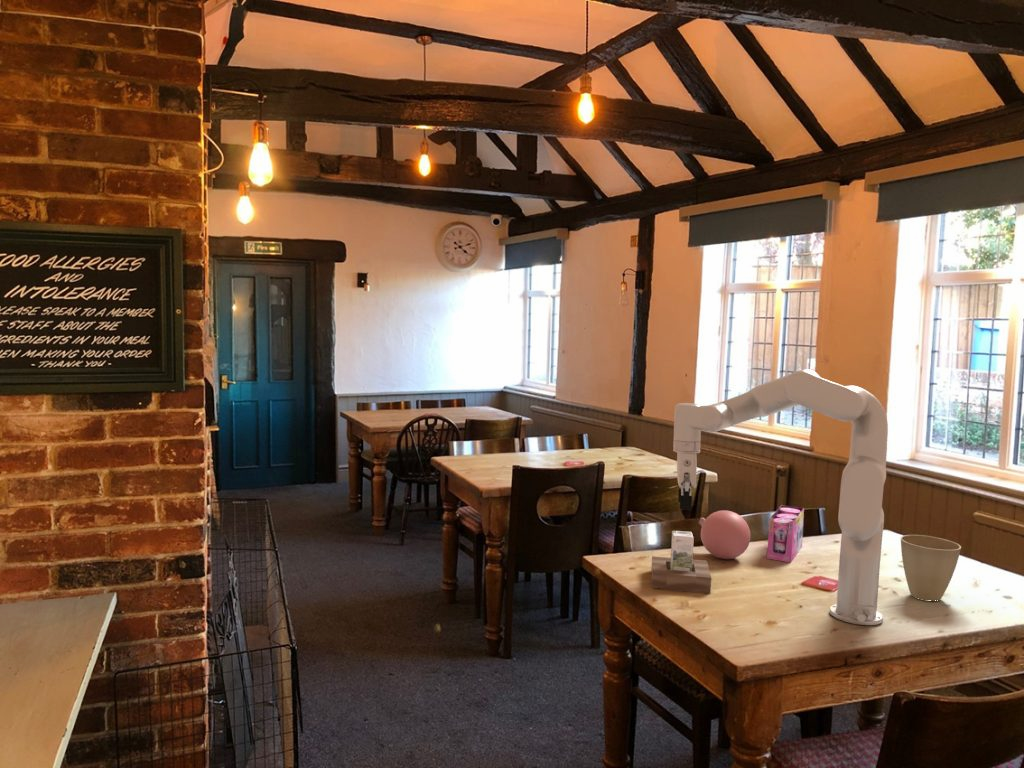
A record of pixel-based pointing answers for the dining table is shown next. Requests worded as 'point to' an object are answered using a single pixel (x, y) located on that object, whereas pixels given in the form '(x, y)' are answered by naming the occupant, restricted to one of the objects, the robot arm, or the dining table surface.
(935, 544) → the plant pot
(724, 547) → the balloon
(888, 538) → the dining table surface
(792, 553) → the gum box
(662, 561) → the walnut stand
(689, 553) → the syrup box
